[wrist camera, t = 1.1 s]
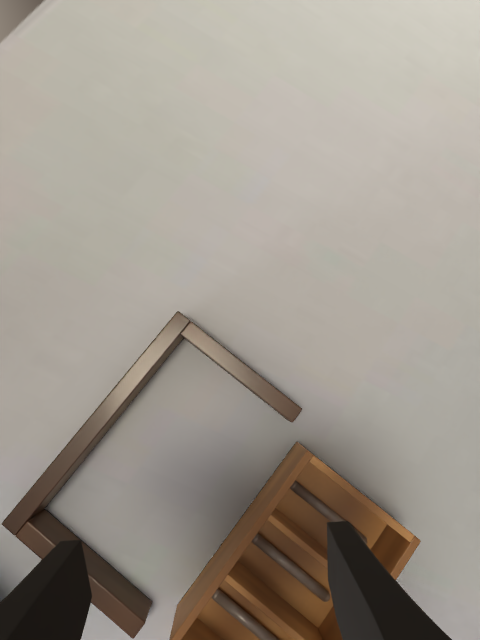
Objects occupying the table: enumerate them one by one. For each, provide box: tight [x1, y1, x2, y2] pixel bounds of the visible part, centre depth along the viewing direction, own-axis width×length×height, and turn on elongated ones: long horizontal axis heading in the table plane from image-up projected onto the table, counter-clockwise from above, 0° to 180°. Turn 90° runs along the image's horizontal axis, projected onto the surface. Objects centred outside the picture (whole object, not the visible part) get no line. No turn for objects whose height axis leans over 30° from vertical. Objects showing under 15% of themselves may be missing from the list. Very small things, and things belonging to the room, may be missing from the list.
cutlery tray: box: [170, 442, 421, 640], centre depth 26 cm, size 9×14×4 cm, turn 142°
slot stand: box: [2, 311, 302, 638], centre depth 28 cm, size 11×18×2 cm, turn 142°
